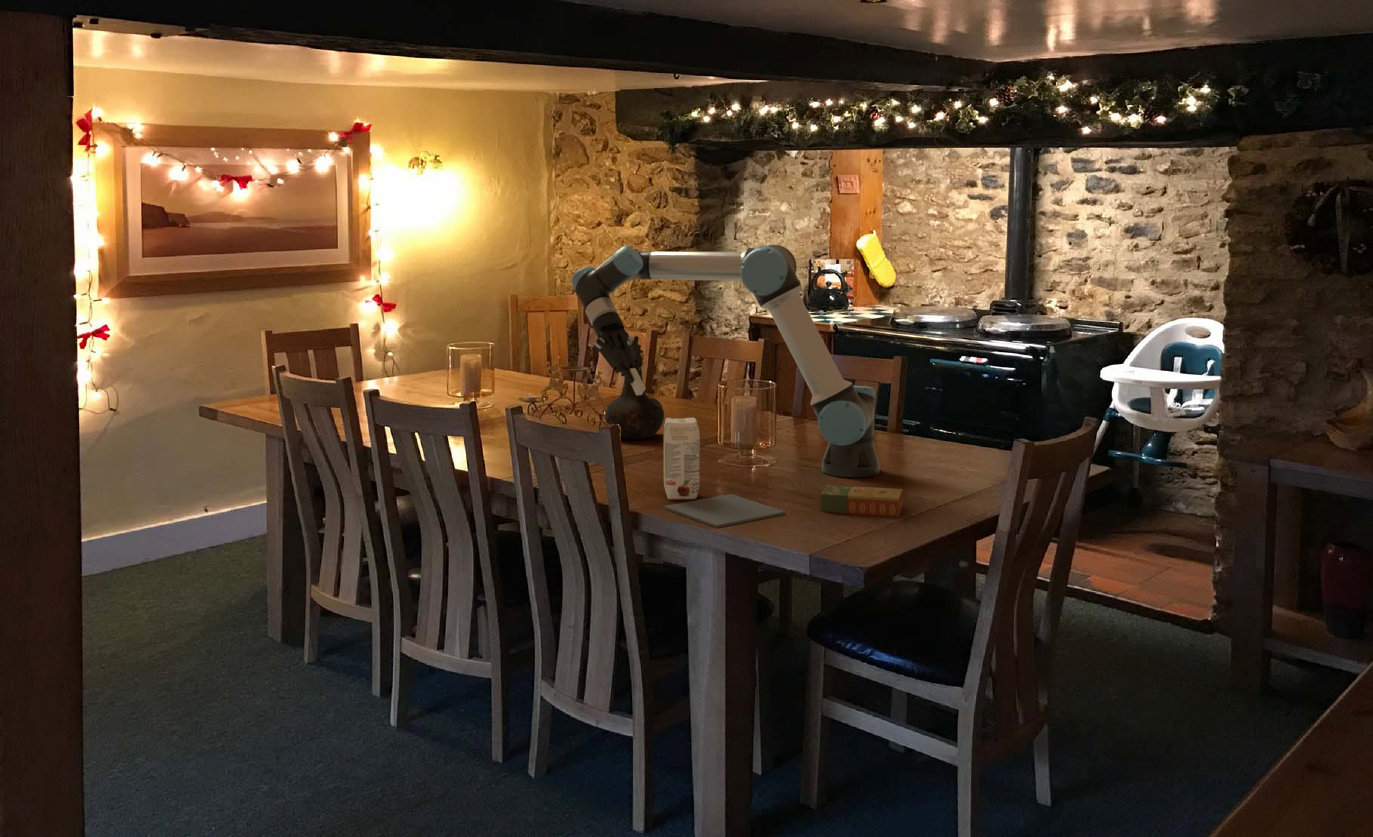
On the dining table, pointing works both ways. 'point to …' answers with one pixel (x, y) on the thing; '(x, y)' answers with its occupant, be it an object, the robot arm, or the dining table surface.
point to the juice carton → (681, 458)
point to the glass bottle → (635, 412)
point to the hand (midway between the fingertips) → (641, 391)
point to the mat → (724, 510)
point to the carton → (862, 500)
